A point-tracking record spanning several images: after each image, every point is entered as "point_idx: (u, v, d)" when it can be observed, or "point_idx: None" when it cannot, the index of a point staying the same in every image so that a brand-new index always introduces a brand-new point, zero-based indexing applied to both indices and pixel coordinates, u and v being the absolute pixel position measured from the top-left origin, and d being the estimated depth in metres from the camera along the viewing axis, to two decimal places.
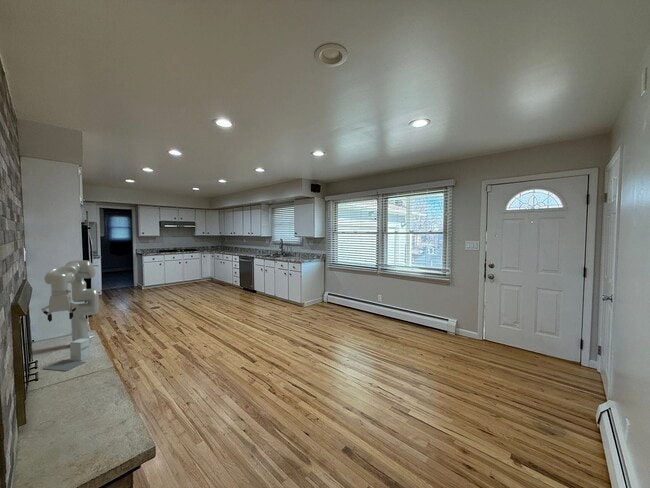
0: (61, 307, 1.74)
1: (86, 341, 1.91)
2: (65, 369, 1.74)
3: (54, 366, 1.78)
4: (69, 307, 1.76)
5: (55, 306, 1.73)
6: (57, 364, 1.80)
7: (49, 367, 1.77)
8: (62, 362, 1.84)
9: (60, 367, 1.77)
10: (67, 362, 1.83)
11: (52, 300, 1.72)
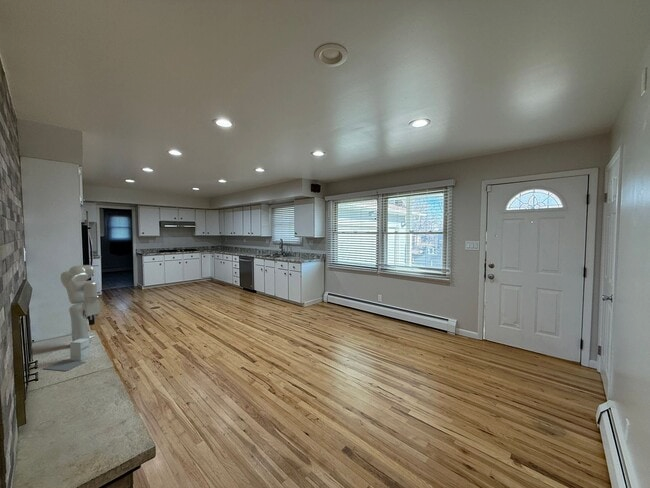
0: (95, 310, 1.98)
1: (86, 341, 1.91)
2: (65, 369, 1.74)
3: (54, 366, 1.78)
4: None
5: (91, 310, 1.96)
6: (57, 364, 1.80)
7: (49, 367, 1.77)
8: (62, 362, 1.84)
9: (60, 367, 1.77)
10: (67, 362, 1.83)
11: (89, 305, 1.94)
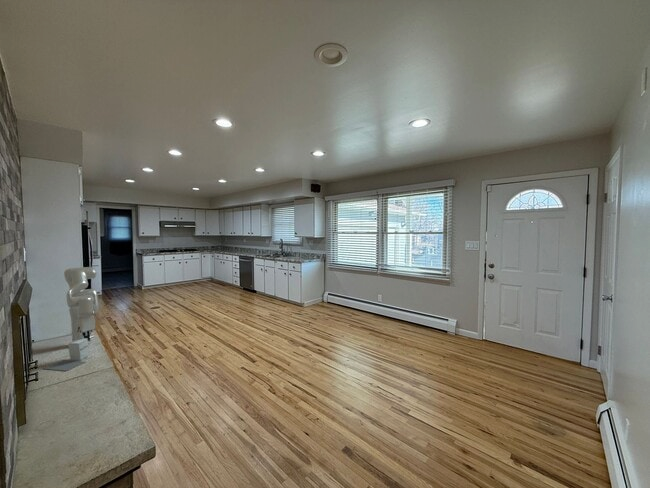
0: (90, 326, 1.95)
1: (84, 341, 1.90)
2: (65, 369, 1.74)
3: (54, 366, 1.78)
4: None
5: (87, 326, 1.92)
6: (57, 364, 1.80)
7: (49, 367, 1.77)
8: (62, 362, 1.84)
9: (60, 367, 1.77)
10: (67, 362, 1.83)
11: (84, 321, 1.91)
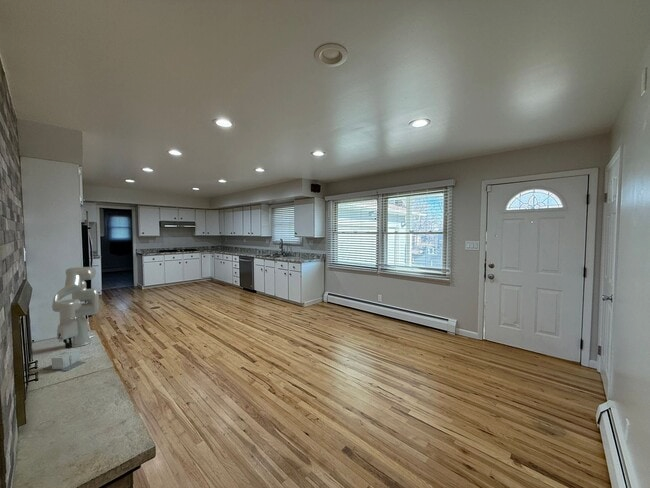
0: (72, 333, 1.83)
1: (64, 361, 1.75)
2: (65, 369, 1.74)
3: None
4: (78, 332, 1.87)
5: (68, 333, 1.81)
6: None
7: (49, 367, 1.77)
8: None
9: None
10: None
11: (66, 328, 1.79)
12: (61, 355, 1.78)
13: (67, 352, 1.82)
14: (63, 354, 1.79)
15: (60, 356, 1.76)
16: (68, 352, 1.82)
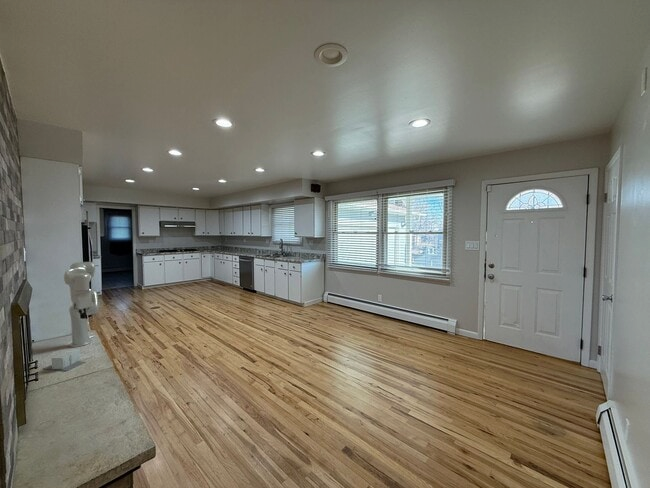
0: (86, 304, 1.93)
1: (64, 361, 1.75)
2: (65, 369, 1.74)
3: None
4: (92, 303, 1.96)
5: (83, 303, 1.90)
6: None
7: (49, 367, 1.77)
8: None
9: None
10: None
11: (81, 298, 1.89)
12: (61, 355, 1.78)
13: (67, 352, 1.82)
14: (63, 354, 1.79)
15: (60, 356, 1.76)
16: (68, 352, 1.82)
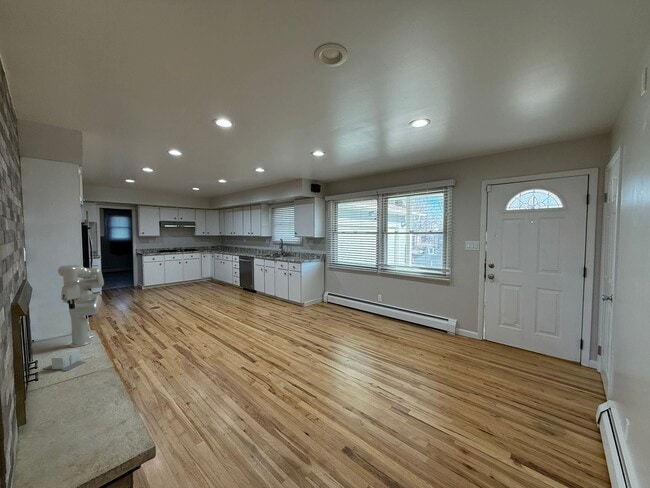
0: (75, 295, 2.01)
1: (64, 361, 1.75)
2: (65, 369, 1.74)
3: None
4: (80, 295, 2.05)
5: (71, 294, 1.98)
6: None
7: (49, 367, 1.77)
8: None
9: None
10: None
11: (69, 290, 1.97)
12: (61, 355, 1.78)
13: (67, 352, 1.82)
14: (63, 354, 1.79)
15: (60, 356, 1.76)
16: (68, 352, 1.82)
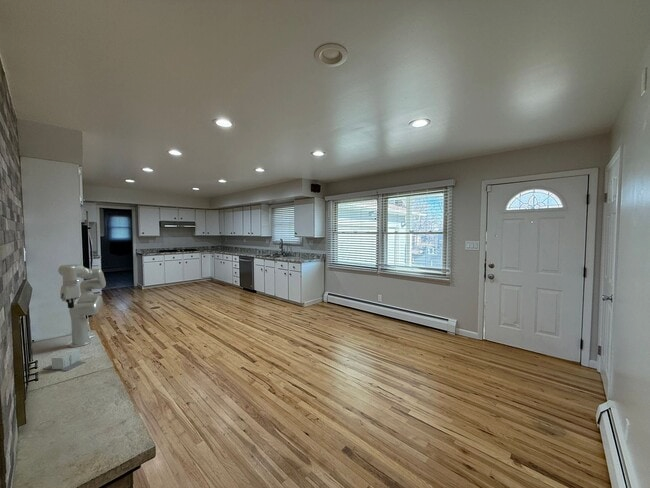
0: (74, 294, 2.01)
1: (64, 361, 1.75)
2: (65, 369, 1.74)
3: None
4: None
5: (70, 293, 1.99)
6: None
7: (49, 367, 1.77)
8: None
9: None
10: None
11: (68, 289, 1.97)
12: (61, 355, 1.78)
13: (67, 352, 1.82)
14: (63, 354, 1.79)
15: (60, 356, 1.76)
16: (68, 352, 1.82)
